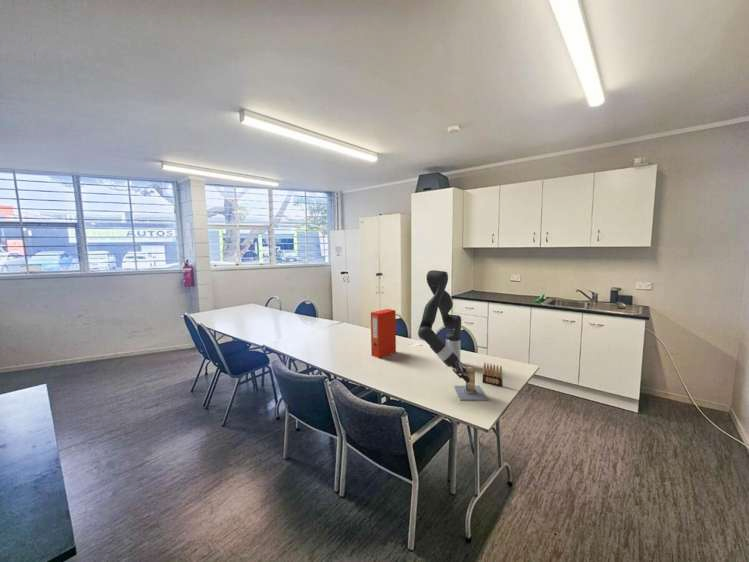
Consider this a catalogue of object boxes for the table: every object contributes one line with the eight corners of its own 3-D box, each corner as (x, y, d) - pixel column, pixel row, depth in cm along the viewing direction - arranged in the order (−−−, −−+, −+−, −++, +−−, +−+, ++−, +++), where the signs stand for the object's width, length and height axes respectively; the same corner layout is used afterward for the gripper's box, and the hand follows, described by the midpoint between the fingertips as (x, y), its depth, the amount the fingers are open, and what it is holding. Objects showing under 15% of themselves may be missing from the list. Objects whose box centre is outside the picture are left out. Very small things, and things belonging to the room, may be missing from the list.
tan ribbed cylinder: (463, 389, 172) (463, 366, 171) (474, 389, 172) (474, 366, 171) (465, 394, 166) (466, 371, 165) (477, 394, 166) (477, 370, 165)
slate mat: (454, 386, 178) (454, 385, 178) (479, 386, 177) (479, 385, 177) (460, 400, 162) (460, 399, 162) (488, 400, 161) (488, 399, 161)
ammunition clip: (482, 382, 182) (482, 362, 181) (483, 381, 183) (483, 361, 182) (501, 387, 176) (502, 366, 174) (502, 385, 177) (503, 365, 176)
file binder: (396, 352, 236) (395, 310, 232) (379, 358, 224) (378, 314, 221) (388, 350, 242) (387, 308, 238) (371, 355, 230) (370, 312, 227)
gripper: (451, 355, 163) (474, 379, 161) (452, 347, 176) (474, 369, 174) (440, 364, 165) (463, 388, 163) (443, 355, 179) (464, 377, 176)
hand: (468, 378), depth 169 cm, fingers open, 8 cm apart
